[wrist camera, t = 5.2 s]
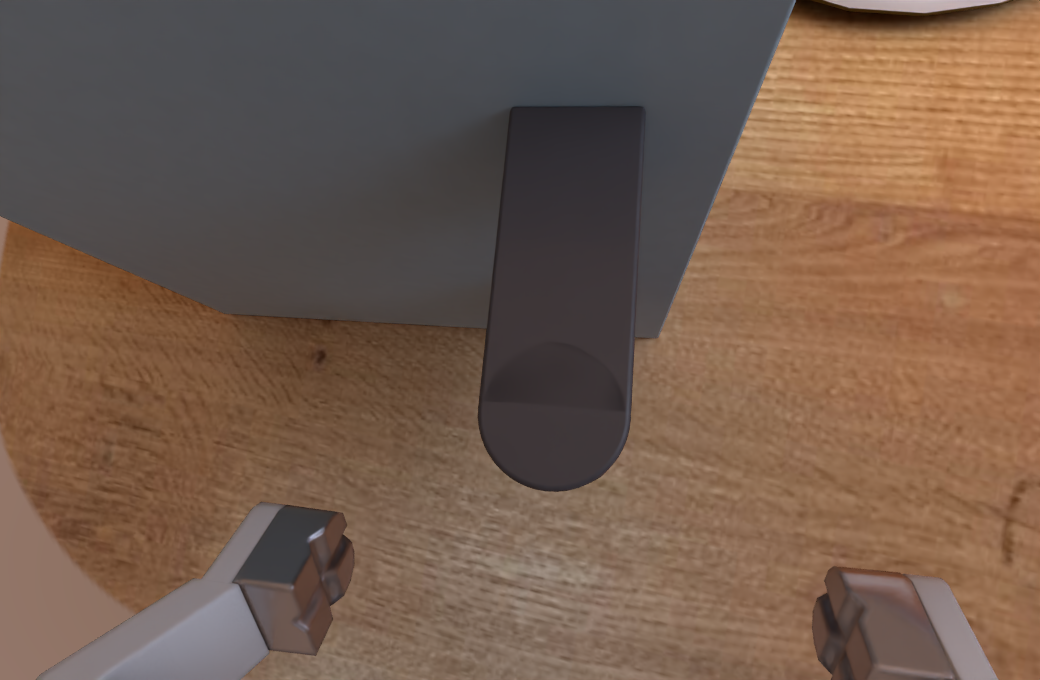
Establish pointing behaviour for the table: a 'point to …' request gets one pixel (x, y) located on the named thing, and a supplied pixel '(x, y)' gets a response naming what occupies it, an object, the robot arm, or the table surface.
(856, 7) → the plate
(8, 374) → the table surface
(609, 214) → the cabinet door
